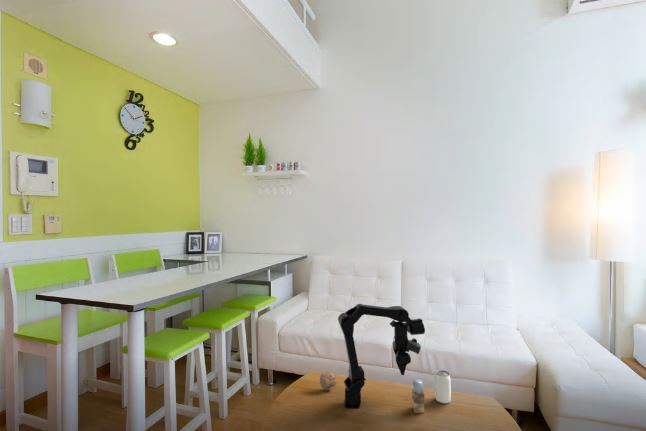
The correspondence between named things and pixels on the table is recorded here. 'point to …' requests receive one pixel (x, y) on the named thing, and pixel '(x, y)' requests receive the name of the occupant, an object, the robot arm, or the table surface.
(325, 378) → the brown wrinkled rounded piece
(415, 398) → the tower top
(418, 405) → the tower base
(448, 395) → the can
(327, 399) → the table surface
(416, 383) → the pale blue rounded blob
